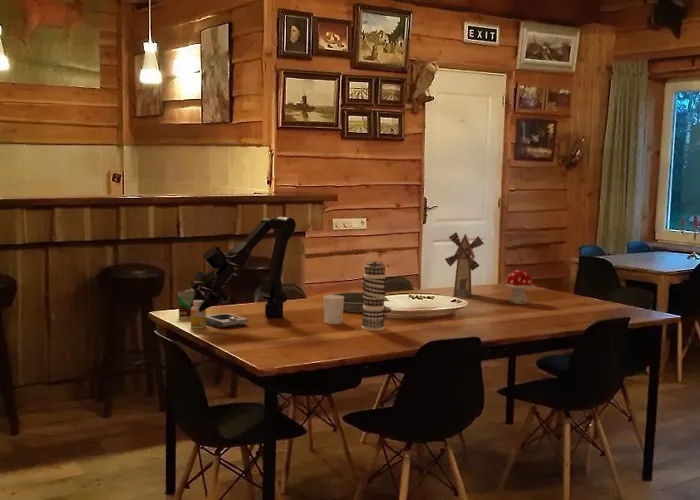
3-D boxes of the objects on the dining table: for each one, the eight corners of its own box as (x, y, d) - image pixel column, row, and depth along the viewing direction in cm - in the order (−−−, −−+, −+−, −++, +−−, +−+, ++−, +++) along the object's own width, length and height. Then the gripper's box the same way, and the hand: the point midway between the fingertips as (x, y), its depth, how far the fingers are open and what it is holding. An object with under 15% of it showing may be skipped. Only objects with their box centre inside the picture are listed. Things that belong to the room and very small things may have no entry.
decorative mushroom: (501, 299, 377) (503, 267, 376) (532, 301, 376) (534, 268, 374) (502, 305, 364) (504, 271, 362) (535, 306, 362) (537, 272, 360)
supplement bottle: (191, 325, 304) (191, 299, 303) (206, 325, 305) (206, 299, 304) (190, 328, 299) (190, 301, 298) (205, 328, 299) (205, 302, 298)
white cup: (346, 321, 318) (347, 296, 317) (338, 325, 311) (338, 299, 310) (328, 319, 322) (329, 294, 320) (319, 323, 315) (320, 297, 313)
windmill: (442, 296, 380) (445, 232, 376) (444, 292, 393) (446, 229, 389) (481, 299, 377) (484, 233, 374) (481, 294, 390) (484, 231, 386)
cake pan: (316, 306, 350) (316, 295, 350) (359, 300, 366) (359, 290, 366) (353, 315, 332) (354, 304, 331) (398, 309, 348) (398, 298, 347)
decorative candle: (368, 331, 302) (370, 263, 299) (356, 326, 310) (358, 260, 308) (389, 329, 307) (392, 262, 304) (377, 324, 315) (379, 259, 312)
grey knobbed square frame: (199, 321, 311) (199, 313, 311) (224, 318, 319) (224, 309, 318) (223, 328, 300) (223, 320, 299) (248, 325, 307) (248, 316, 307)
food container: (192, 318, 317) (192, 292, 316) (177, 317, 318) (177, 291, 317) (204, 312, 329) (204, 287, 328) (190, 311, 330) (190, 286, 329)
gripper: (194, 259, 308) (168, 291, 302) (222, 265, 295) (195, 299, 289) (212, 279, 315) (186, 310, 309) (240, 285, 301) (214, 319, 295)
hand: (195, 309), depth 300 cm, fingers closed on supplement bottle, 5 cm apart
